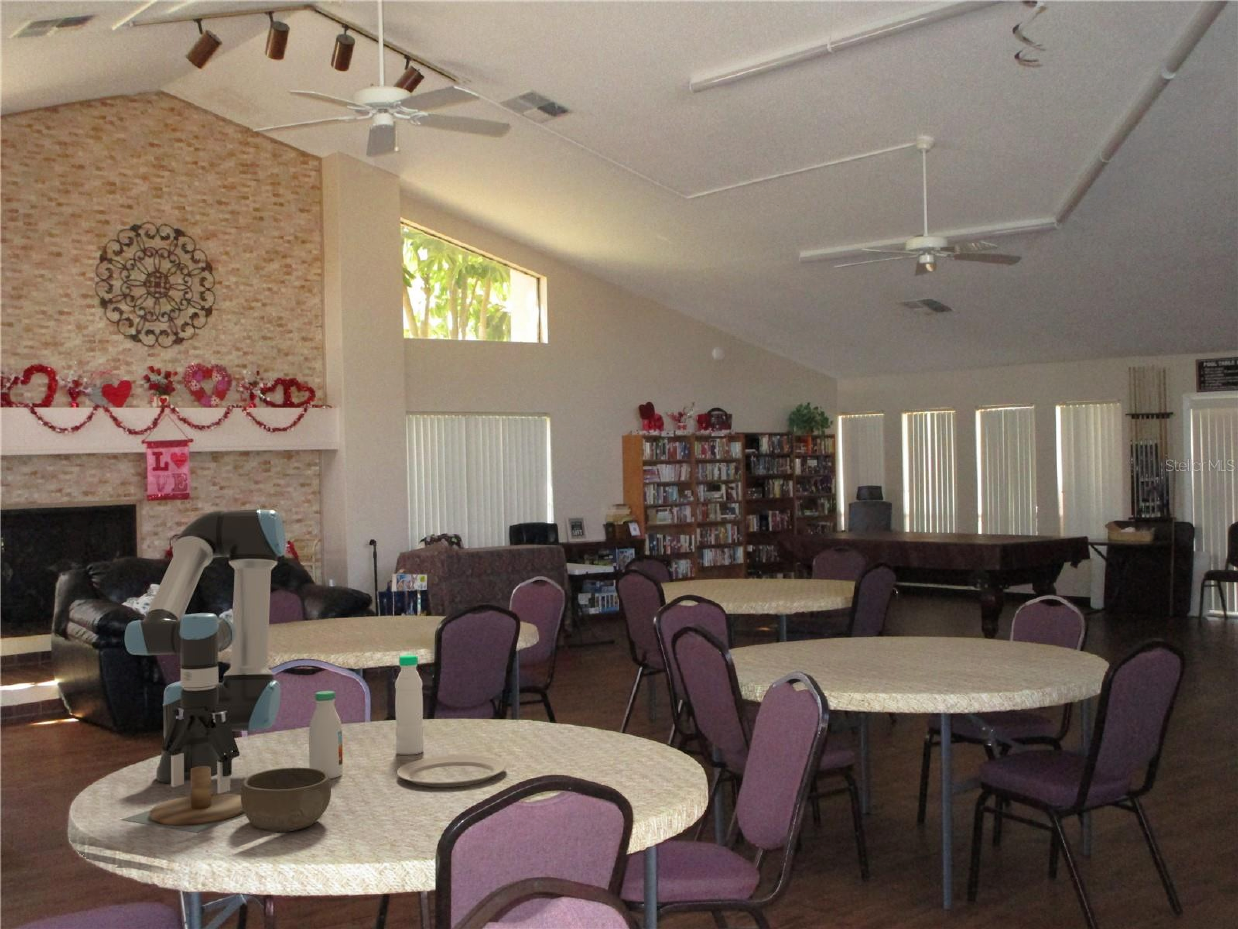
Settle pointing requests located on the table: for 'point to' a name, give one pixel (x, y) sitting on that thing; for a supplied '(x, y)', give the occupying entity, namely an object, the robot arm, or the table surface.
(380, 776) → the table surface
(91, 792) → the table surface
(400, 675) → the white plastic bottle
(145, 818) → the mat
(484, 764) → the plate
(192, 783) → the lid
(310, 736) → the milk bottle
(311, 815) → the bowl
